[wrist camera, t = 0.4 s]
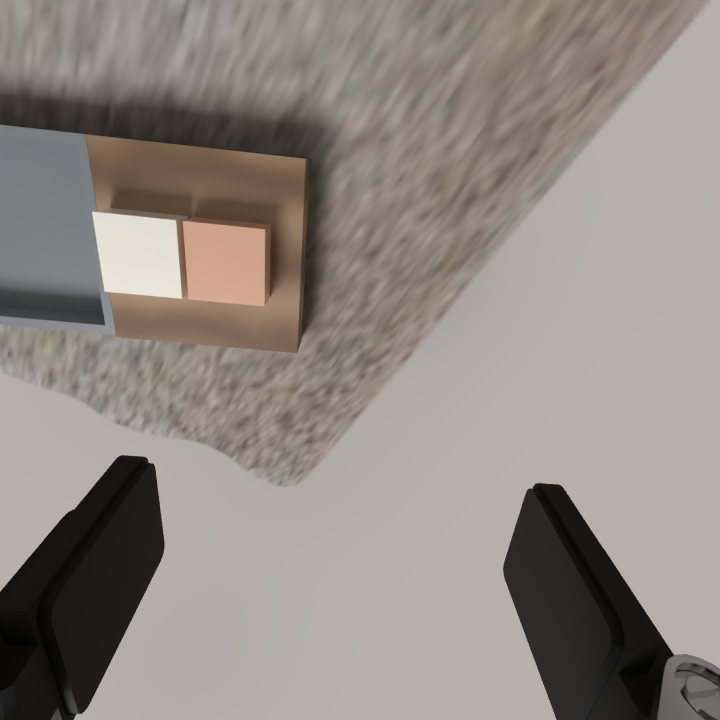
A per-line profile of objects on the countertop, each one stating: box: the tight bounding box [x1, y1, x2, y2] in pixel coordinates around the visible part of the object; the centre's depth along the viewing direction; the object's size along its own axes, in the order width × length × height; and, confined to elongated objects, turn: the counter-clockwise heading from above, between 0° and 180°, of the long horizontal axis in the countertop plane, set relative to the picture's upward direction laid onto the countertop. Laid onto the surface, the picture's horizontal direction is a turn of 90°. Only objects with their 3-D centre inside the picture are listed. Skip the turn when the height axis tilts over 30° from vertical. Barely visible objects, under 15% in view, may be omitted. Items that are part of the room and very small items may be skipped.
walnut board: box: [86, 135, 311, 353], centre depth 37 cm, size 16×16×4 cm
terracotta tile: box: [183, 217, 271, 306], centre depth 34 cm, size 6×6×2 cm
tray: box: [0, 124, 116, 335], centre depth 36 cm, size 16×16×4 cm
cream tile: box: [92, 208, 188, 299], centre depth 34 cm, size 6×6×2 cm
